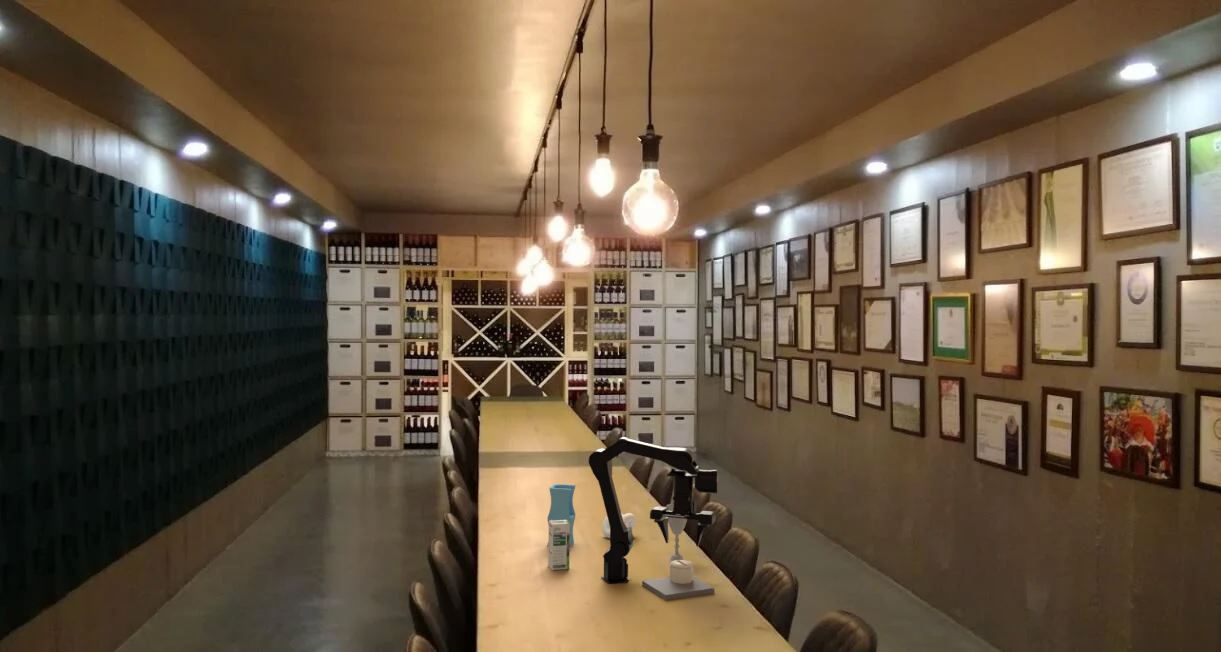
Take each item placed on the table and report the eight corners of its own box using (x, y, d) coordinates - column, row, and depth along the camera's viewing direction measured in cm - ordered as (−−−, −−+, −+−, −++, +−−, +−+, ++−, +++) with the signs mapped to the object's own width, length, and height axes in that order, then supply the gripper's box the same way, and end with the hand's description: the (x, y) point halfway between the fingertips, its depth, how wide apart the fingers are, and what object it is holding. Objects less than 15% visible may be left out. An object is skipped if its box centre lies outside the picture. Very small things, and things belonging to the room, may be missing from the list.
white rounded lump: (595, 539, 297) (595, 514, 297) (610, 531, 307) (611, 507, 307) (623, 543, 291) (623, 518, 291) (638, 536, 302) (638, 511, 302)
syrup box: (551, 570, 258) (552, 524, 258) (547, 565, 264) (548, 519, 264) (569, 569, 260) (570, 523, 260) (565, 564, 265) (566, 518, 265)
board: (665, 600, 232) (665, 582, 232) (642, 585, 245) (642, 568, 245) (714, 593, 239) (714, 575, 239) (689, 579, 252) (689, 562, 252)
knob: (696, 582, 244) (697, 564, 244) (676, 584, 242) (677, 566, 242) (685, 575, 250) (686, 558, 250) (666, 578, 248) (666, 560, 248)
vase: (569, 548, 284) (570, 489, 284) (547, 546, 286) (548, 488, 286) (574, 542, 292) (575, 485, 292) (553, 540, 294) (554, 483, 294)
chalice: (669, 564, 266) (670, 508, 266) (662, 558, 273) (663, 504, 273) (690, 563, 268) (691, 507, 268) (683, 557, 275) (684, 503, 275)
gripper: (720, 489, 250) (719, 541, 251) (660, 484, 257) (659, 534, 257) (711, 496, 240) (710, 550, 240) (649, 491, 246) (648, 543, 246)
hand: (682, 544), depth 246 cm, fingers open, 9 cm apart
